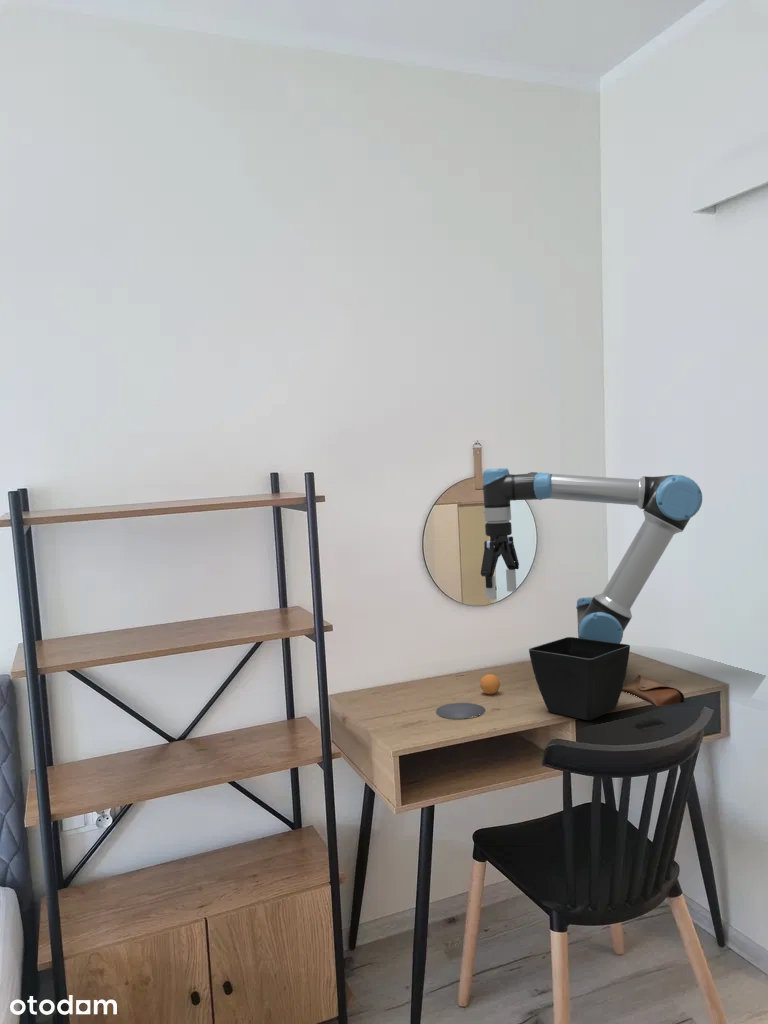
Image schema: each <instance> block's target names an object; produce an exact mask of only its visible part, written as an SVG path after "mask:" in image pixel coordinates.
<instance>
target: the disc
mask: <svg viewBox="0 0 768 1024" xmlns="http://www.w3.org/2000/svg"><path fill="white" fill-rule="evenodd" d="M484 712H486V708H485V707H484V706H483V705H481V704H477V703H471V702H454V703H448V704H443V705H442V706H439V707H438V708H436V710H435V713H436V715H437V716H439V717H441V718H443V719H448V720H465V719H464V718H470V717H472V716H473V717H474V716H478V715H479V714H480V715H481V714H482V715H484V714H485V713H484ZM483 713H484V714H483ZM482 715H481V716H482ZM478 717H479V716H478ZM470 719H471V718H470Z"/></svg>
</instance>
